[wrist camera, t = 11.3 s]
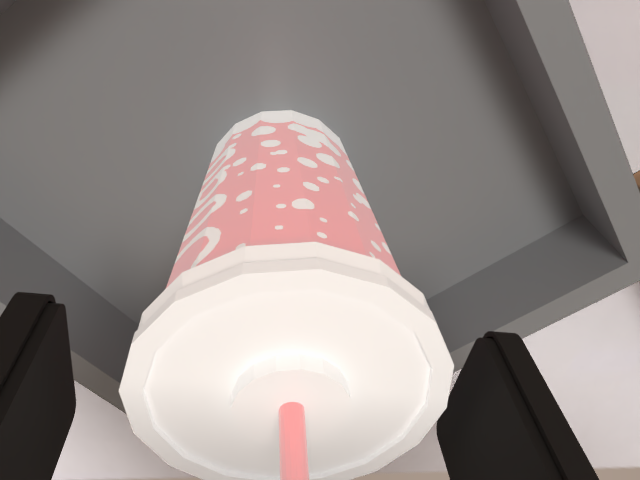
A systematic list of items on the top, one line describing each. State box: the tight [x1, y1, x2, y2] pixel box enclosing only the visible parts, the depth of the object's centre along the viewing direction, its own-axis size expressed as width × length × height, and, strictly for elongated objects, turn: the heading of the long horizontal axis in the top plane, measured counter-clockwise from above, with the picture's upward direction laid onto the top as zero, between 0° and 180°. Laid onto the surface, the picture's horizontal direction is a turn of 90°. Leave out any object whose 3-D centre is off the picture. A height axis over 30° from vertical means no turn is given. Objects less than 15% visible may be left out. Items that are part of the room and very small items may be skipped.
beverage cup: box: [119, 110, 454, 480], centre depth 11 cm, size 6×6×14 cm
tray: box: [0, 0, 640, 413], centre depth 16 cm, size 18×18×4 cm
